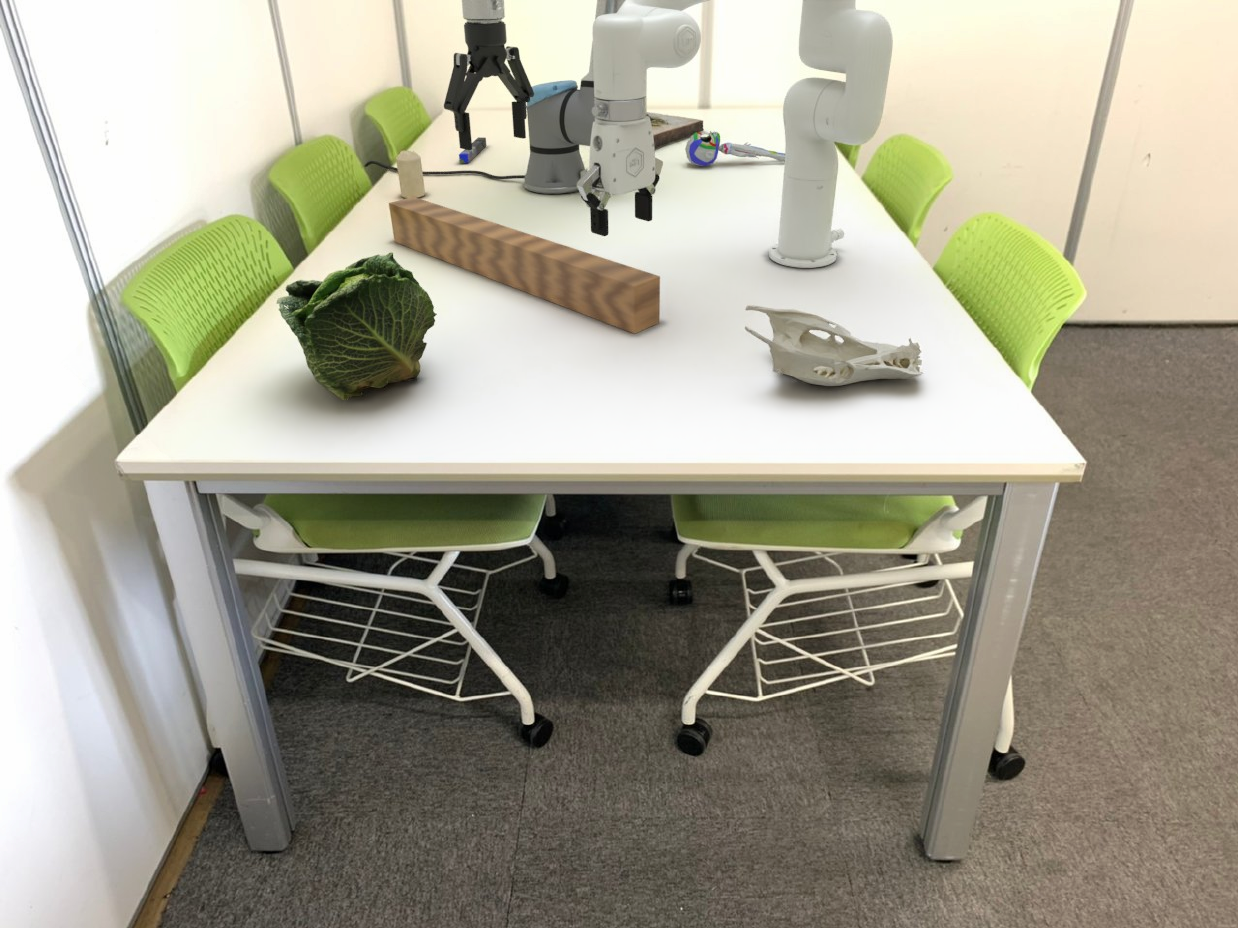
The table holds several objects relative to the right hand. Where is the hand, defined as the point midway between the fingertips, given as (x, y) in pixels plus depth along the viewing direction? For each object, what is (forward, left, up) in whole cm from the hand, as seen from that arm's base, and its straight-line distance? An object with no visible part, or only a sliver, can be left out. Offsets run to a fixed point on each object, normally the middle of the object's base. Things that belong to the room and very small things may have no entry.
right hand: (622, 226), depth 138 cm
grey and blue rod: (-41, -113, -15) cm, 121 cm away
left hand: (-8, -48, +3) cm, 49 cm away
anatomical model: (-9, +35, -15) cm, 40 cm away
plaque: (-88, -100, -15) cm, 134 cm away
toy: (-88, -56, -15) cm, 105 cm away
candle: (-10, -88, -15) cm, 90 cm away
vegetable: (+42, -6, -15) cm, 45 cm away
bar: (+3, -28, -15) cm, 32 cm away
